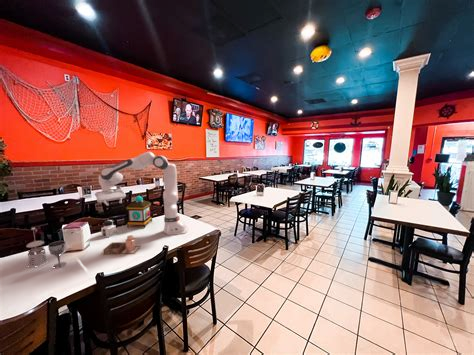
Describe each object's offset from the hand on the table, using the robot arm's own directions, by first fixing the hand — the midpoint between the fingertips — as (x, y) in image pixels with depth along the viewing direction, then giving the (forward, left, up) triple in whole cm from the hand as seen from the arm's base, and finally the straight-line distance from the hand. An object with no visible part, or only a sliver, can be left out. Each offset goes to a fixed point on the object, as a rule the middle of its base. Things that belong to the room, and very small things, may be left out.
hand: (114, 204), depth 154 cm
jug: (-19, +17, -30) cm, 40 cm away
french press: (+34, +30, -32) cm, 56 cm away
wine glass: (+18, +33, -32) cm, 50 cm away
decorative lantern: (-5, -34, -32) cm, 46 cm away
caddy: (-14, +17, -31) cm, 38 cm away
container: (+12, -11, -32) cm, 36 cm away
